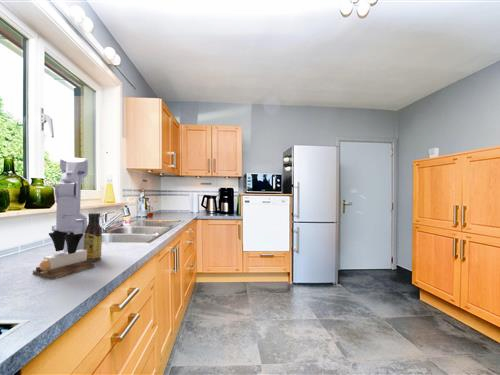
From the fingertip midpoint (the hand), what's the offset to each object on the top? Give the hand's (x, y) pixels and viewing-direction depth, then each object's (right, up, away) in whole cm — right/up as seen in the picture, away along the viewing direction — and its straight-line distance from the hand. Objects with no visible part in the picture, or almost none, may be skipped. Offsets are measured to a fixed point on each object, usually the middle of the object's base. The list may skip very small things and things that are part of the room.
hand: (65, 252), depth 87 cm
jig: (0, -7, 0) cm, 7 cm away
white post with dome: (0, -6, 0) cm, 6 cm away
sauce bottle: (+2, -7, +12) cm, 14 cm away
